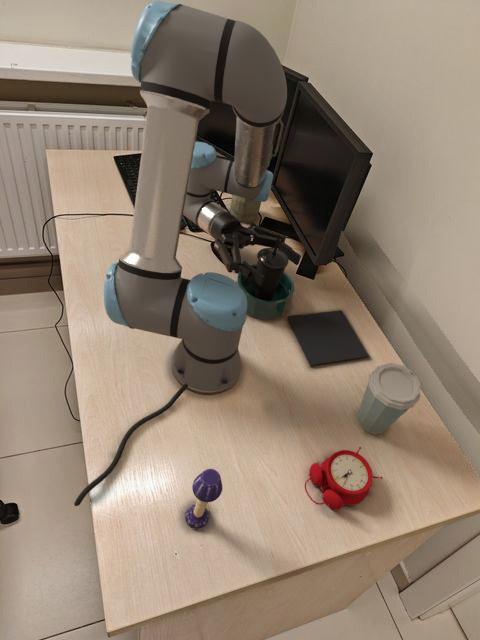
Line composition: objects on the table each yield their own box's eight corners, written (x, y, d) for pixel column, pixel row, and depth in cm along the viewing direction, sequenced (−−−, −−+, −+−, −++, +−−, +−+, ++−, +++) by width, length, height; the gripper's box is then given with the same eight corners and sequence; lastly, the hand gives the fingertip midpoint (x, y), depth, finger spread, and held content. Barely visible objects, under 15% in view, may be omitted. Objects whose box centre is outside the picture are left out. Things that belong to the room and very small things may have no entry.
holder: (367, 358, 114) (369, 356, 114) (310, 367, 109) (311, 365, 108) (341, 312, 123) (342, 310, 123) (286, 318, 118) (287, 316, 117)
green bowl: (286, 326, 116) (292, 309, 111) (228, 312, 115) (232, 294, 111) (291, 288, 126) (297, 271, 121) (238, 275, 125) (242, 258, 120)
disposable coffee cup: (368, 450, 97) (398, 411, 86) (337, 410, 102) (361, 369, 91) (402, 430, 102) (435, 391, 91) (371, 394, 107) (398, 353, 96)
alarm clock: (390, 482, 89) (337, 507, 80) (373, 497, 93) (320, 524, 84) (358, 438, 94) (305, 457, 85) (343, 454, 98) (290, 475, 89)
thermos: (221, 206, 144) (239, 87, 118) (257, 206, 148) (282, 91, 122) (228, 223, 139) (248, 103, 113) (265, 223, 143) (293, 107, 117)
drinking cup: (276, 311, 118) (295, 249, 103) (246, 306, 117) (262, 242, 102) (276, 291, 123) (295, 229, 108) (248, 286, 122) (263, 223, 107)
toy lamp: (211, 504, 83) (224, 461, 71) (213, 530, 80) (227, 491, 68) (184, 505, 82) (192, 463, 69) (185, 532, 79) (194, 492, 66)
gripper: (250, 221, 127) (308, 264, 120) (181, 253, 113) (242, 303, 106) (255, 197, 122) (317, 240, 115) (183, 227, 107) (248, 278, 100)
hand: (281, 270), depth 110 cm, fingers open, 13 cm apart
